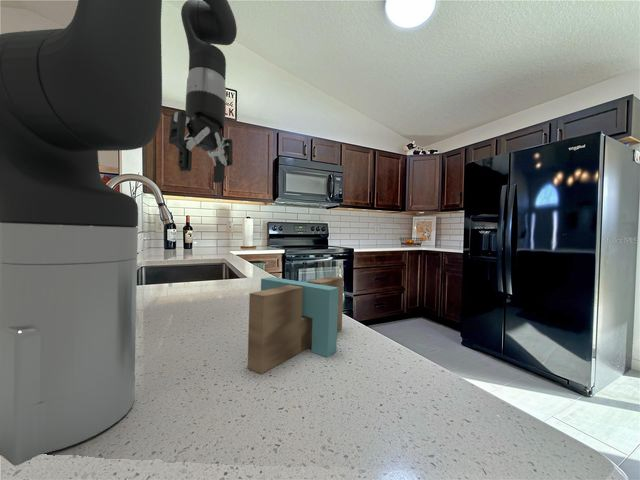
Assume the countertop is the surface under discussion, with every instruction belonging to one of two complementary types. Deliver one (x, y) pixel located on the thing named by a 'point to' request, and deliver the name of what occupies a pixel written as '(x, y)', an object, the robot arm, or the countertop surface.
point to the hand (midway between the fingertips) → (203, 177)
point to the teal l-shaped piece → (315, 311)
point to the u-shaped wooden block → (282, 324)
